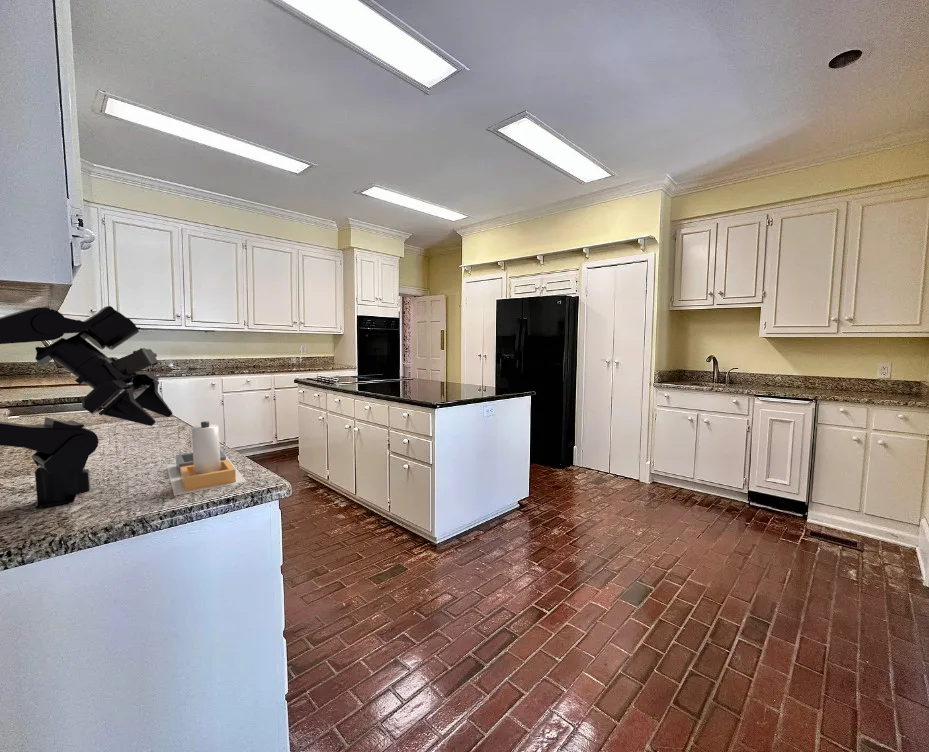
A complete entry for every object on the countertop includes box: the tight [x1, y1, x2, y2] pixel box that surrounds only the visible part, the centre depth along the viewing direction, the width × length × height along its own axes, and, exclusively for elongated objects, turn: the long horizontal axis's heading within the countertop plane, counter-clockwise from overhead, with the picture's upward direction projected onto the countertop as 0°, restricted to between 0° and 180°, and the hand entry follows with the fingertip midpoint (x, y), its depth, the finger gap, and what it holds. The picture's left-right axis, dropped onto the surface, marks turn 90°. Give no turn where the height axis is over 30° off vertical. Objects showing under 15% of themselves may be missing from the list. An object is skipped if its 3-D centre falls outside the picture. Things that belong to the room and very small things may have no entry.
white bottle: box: [191, 420, 221, 475], centre depth 83 cm, size 5×5×12 cm
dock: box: [166, 449, 247, 496], centre depth 88 cm, size 12×22×4 cm, turn 39°
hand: (162, 419), depth 82 cm, fingers open, 9 cm apart
